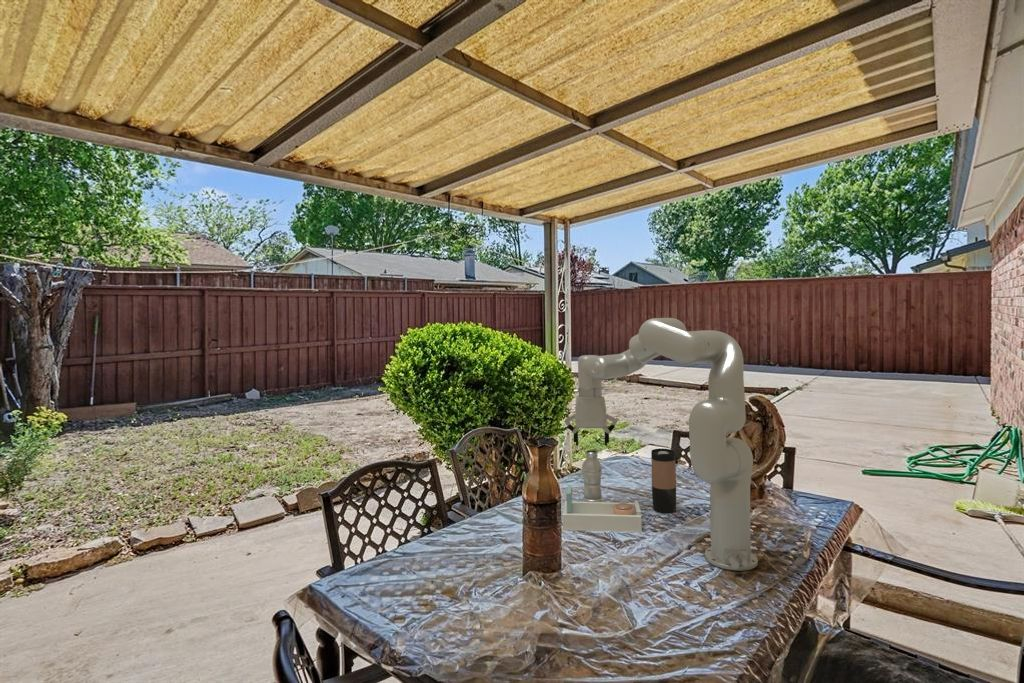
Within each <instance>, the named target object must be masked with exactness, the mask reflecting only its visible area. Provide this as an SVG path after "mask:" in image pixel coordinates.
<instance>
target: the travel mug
mask: <svg viewBox="0 0 1024 683" xmlns="http://www.w3.org/2000/svg"><path fill="white" fill-rule="evenodd" d="M650 455H651V456H650V457H651V458H650V459H651V492H652V493H651V496H652V498H651V499H652V509H653V511H654V512H656V513H659V514H666V515H669V514H674V513H676V512H677V473H676V472H677V470H676V469H677V468H676V467H677V466H676V465H677V464H676V451H675V450H673V449H670V448H654V449H651V454H650Z"/></svg>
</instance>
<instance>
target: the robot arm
mask: <svg viewBox="0 0 1024 683" xmlns="http://www.w3.org/2000/svg"><path fill="white" fill-rule="evenodd" d="M628 342H629V343H628V349H627V350H625V351H623V352H621V353H615V354H606V355H597V354H596V355H595V354H585V355H580V356H578V359H577V372H578V373H577V374H578V375H577V377H578V379H577V380H578V381H577V382H578V388H576V389H574V390H573V392H574V394H577V395H578V396H576V397H575V398H576V399H575V408H574V414H572V415H570V416H569V417H567V418H565V419H564V423H565V425H566V426H567V428H568V429H569V431H571V432H572V433H573V443H575V446H579V432H578V431H579V430H580V429H603V430H604V432H603V433H604V445H605V447H606V446H608V443H610V433H611V432H612V431H613V430H614V429H615V427H616V425H617V424H618V419H617V418H615V417H614V416H612V415H610V414H608V413H607V406H606V400H605V397H604V396H603V393H602V392H603V389H602V385H603V384H602V380H603V381H605V380H611V379H616V378H617V379H618V378H624V377H627V376H629V375H631V374H633V373H635V372H637V371H639V370H641V369H643V368H644V367H645V366H646V365H647V364H648V362H650V361H652V360H654V359H656V358H657V357H659V356H662V357H664V358H667V359H670V360H672V361H674V362H677V363H680V364H683V365H699V364H705V363H709V364H711V368H710V370H709V373H708V379H707V381H708V382H707V386H708V398H707V399H704V400H701V401H699V402H698V403H696V404H695V405H694V406H693V407H692V409H691V411H690V414H689V416H688V432H689V433H688V436H689V455H690V456H689V457H690V464H691V468H692V470H693V473H694V474H695V475H696V477H698V479H700V480H701V481H702V482H705V483H707V484H709V483H710V487H709V489H710V490H709V491H710V492H709V505H710V506H709V508H710V510H709V511H710V512H709V513H710V518H709V519H710V546H709V547H708V548H707V549H705V551H704V558H705V560H706V561H707V562H708V563H709V564H711V565H712V566H715V567H718V568H720V569H723V570H728V571H739V572H744V571H749V570H753V569H754V568H757V566H758V561H759V560H758V557H757V555H756V554H754V553H753V552H752V551H751V550H752V549H751V548H752V544H751V541H752V539H751V537H752V536H751V535H752V534H751V481H752V474H753V467H754V457H753V456H754V455H753V453H752V450H751V448H750V446H749V445H748V444H747V443H746V441H744V440H742V439H740V438H737V437H732V436H731V437H727V435H730V434H734V433H737V432H738V431H740V430H742V429H743V428H744V426H745V424H746V418H747V415H746V413H747V412H746V396H745V383H744V382H745V379H744V355H743V351H742V348H741V346H740V345H739V343H738V342H737V340H736V339H735V338H734V337H732V336H731V335H729V334H728V333H725V332H722V331H718V330H714V329H713V330H712V329H711V330H710V329H709V330H708V329H705V330H691V331H689V330H687V327H686V326H685V324H684V323H683V322H682V321H681V320H679V319H677V318H674V317H653V318H650V319H647V320H646V321H644V322H643V323H642V324H641V326H640V327H639V329H638V333H637V334H636V335H633V336H632V337H631V338H630V340H629V341H628ZM607 420H609V421H610V422H611V424H610V425H609V426H607V424H608V421H607ZM572 421H574V424H575V426H574V425H572V424H571V422H572Z"/></svg>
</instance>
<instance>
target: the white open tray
mask: <svg viewBox="0 0 1024 683" xmlns="http://www.w3.org/2000/svg"><path fill="white" fill-rule="evenodd" d="M619 503H620V502H608V501H607V502H606V501H603V502H583V501H572V514H567V500H566V501H564V504H563V509H562V530H563V531H585V532H586V531H587V532H589V531H592V532H618V533H619V532H623V533H642V532H643V531H642V530H643V528H642V526H643V524H642V511H641V506H640V502H639V501H638V500H634V501H633V502H626V503H627V504H630V505H632V506H633V507H634V515H614V506H615V505H616V504H619Z"/></svg>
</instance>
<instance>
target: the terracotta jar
mask: <svg viewBox="0 0 1024 683" xmlns="http://www.w3.org/2000/svg"><path fill="white" fill-rule="evenodd" d="M618 503H619V504H616V505H615V506H614V515H634V507H633V506H632V505H630V504H627V503H628V502H618Z"/></svg>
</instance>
